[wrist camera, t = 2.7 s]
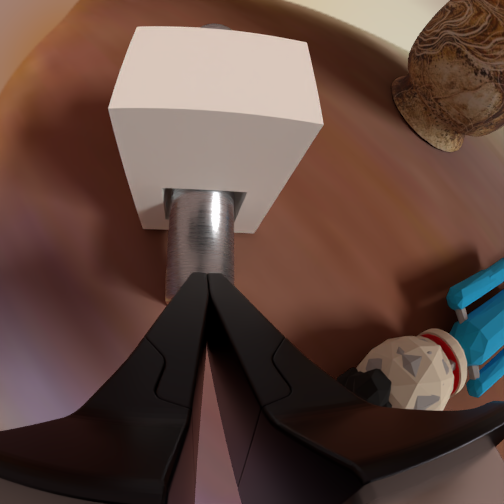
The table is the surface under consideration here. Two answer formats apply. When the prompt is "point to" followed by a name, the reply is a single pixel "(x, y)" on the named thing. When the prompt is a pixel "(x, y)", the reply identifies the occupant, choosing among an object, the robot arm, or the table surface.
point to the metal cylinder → (199, 232)
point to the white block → (212, 117)
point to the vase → (456, 74)
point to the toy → (438, 354)
